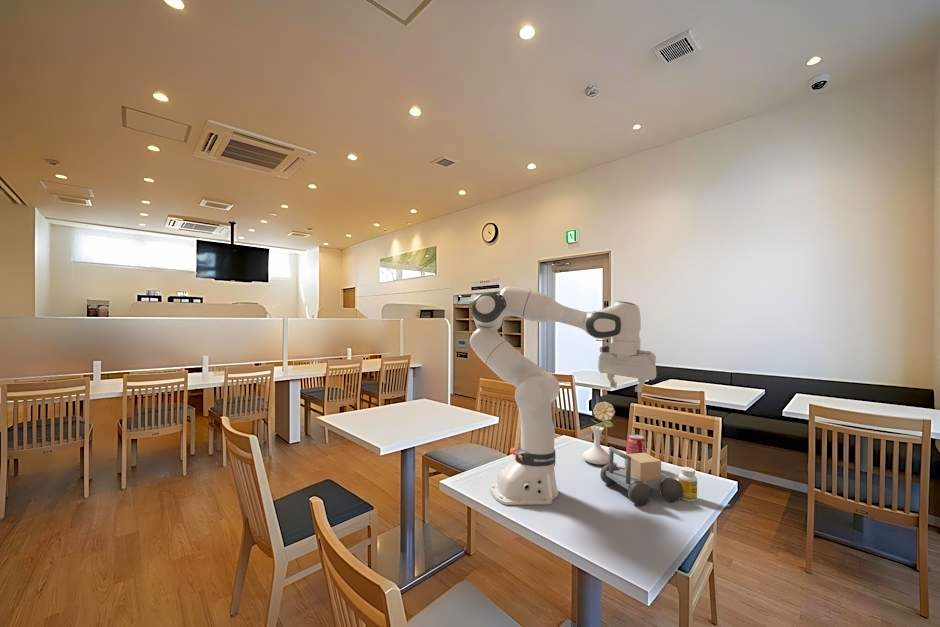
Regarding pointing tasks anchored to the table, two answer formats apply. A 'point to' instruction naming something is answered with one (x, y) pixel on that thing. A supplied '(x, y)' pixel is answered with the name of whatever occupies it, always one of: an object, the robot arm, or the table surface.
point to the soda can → (635, 444)
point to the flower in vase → (599, 434)
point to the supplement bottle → (688, 484)
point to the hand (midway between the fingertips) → (625, 389)
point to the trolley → (640, 477)
